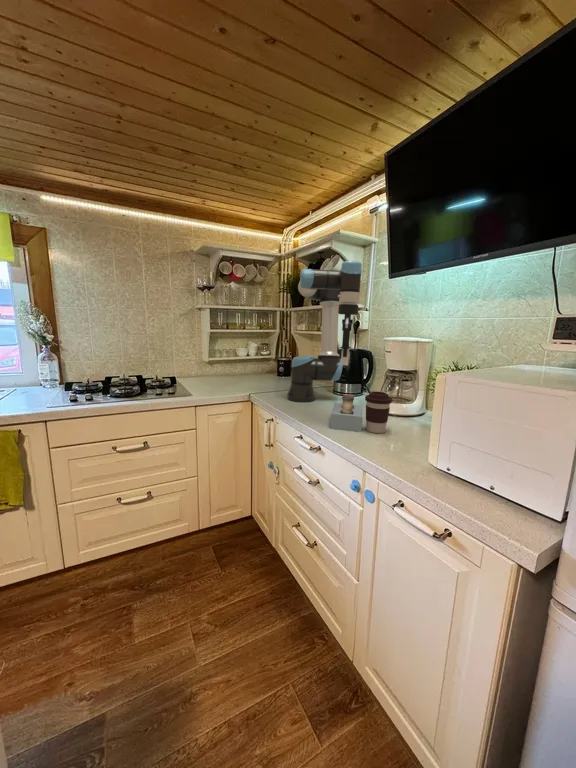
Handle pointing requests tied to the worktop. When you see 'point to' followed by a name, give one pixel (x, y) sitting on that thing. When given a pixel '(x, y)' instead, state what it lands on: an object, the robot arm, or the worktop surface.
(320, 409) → the worktop surface
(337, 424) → the plunger block
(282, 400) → the worktop surface
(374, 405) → the coffee cup
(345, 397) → the beige cylinder
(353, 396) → the plunger red
